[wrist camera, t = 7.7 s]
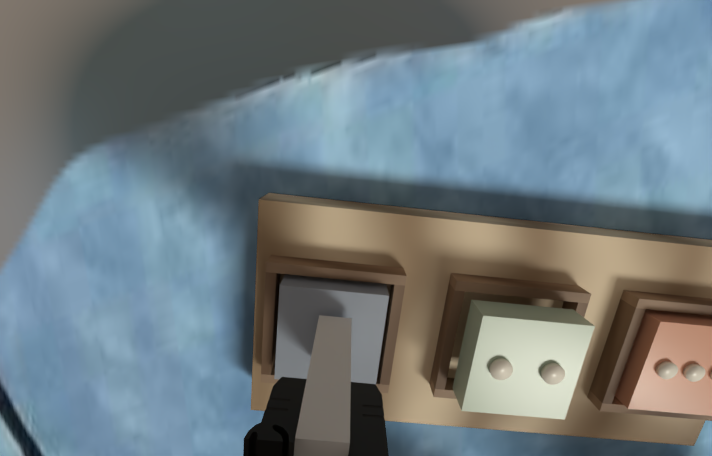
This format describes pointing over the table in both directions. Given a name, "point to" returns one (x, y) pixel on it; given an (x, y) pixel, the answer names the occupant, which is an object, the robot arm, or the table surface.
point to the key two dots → (520, 359)
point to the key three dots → (670, 364)
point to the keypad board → (485, 283)
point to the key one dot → (329, 298)
